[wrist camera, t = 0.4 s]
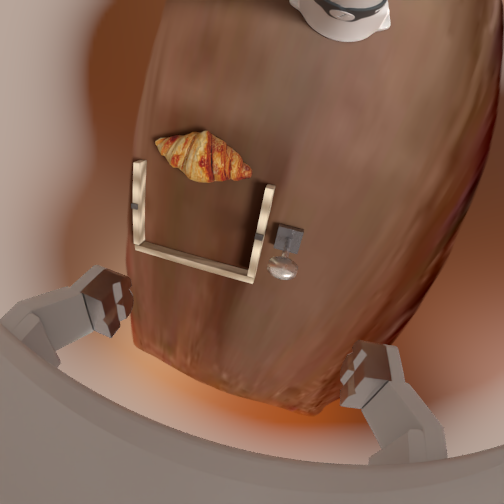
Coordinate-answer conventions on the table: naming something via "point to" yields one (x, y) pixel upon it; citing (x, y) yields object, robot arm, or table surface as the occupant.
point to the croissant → (203, 157)
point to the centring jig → (189, 259)
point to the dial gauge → (285, 252)
